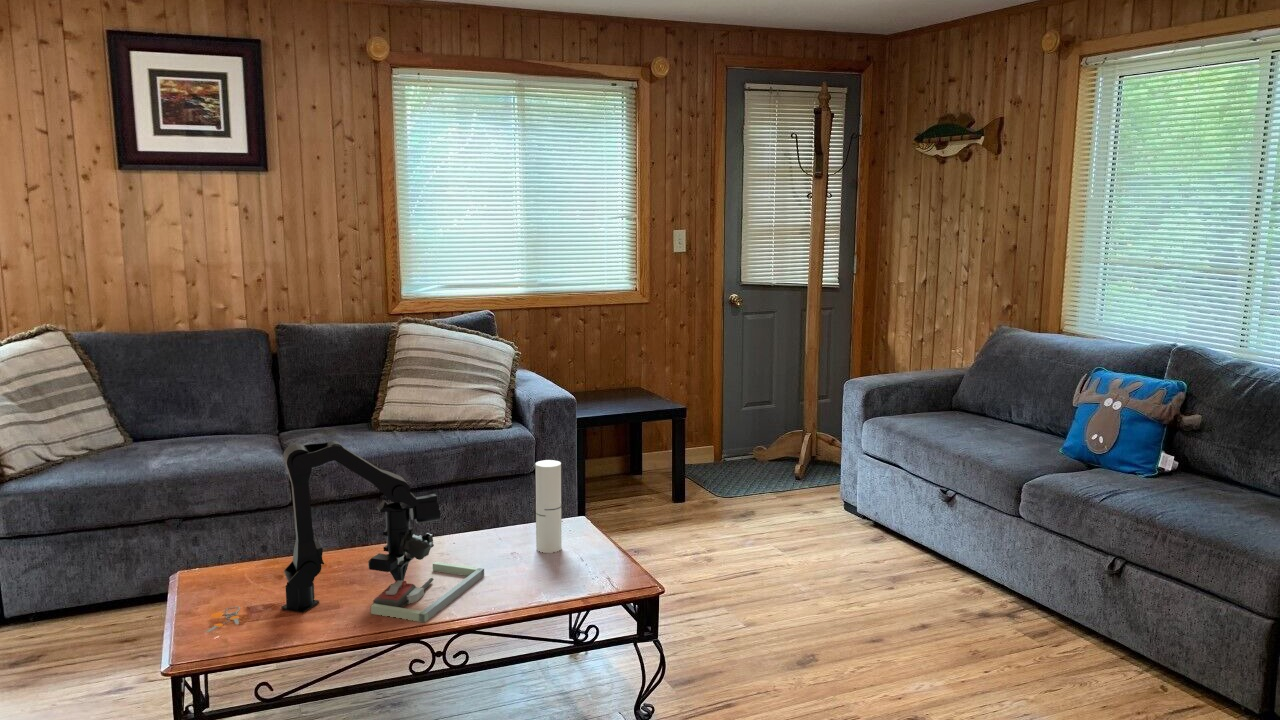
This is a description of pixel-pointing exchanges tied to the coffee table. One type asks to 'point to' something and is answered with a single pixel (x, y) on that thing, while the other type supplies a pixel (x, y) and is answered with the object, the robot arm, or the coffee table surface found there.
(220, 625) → the key chain
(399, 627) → the coffee table surface
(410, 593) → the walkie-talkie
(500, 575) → the coffee table surface
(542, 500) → the cylindrical container
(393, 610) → the green u-shaped bracket
